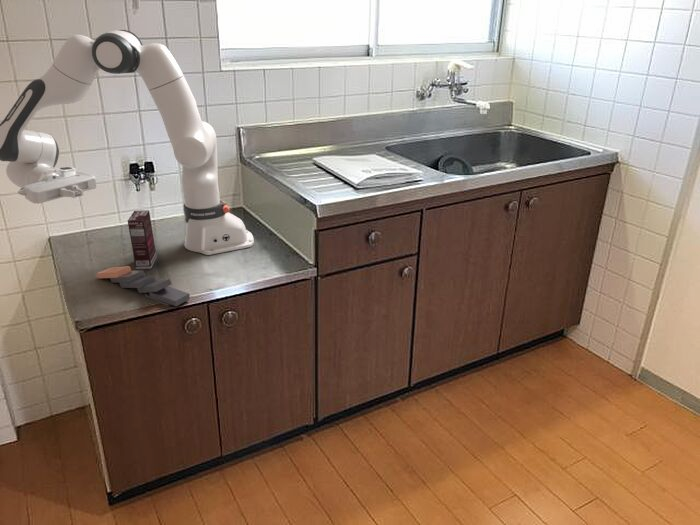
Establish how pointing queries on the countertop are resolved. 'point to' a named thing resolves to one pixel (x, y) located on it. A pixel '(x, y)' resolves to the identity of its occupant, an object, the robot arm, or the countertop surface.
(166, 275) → the countertop surface
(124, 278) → the domino
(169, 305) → the domino
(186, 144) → the robot arm
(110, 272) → the domino
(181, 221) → the countertop surface
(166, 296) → the domino
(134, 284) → the domino
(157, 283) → the domino
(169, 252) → the countertop surface
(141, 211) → the supplement box
